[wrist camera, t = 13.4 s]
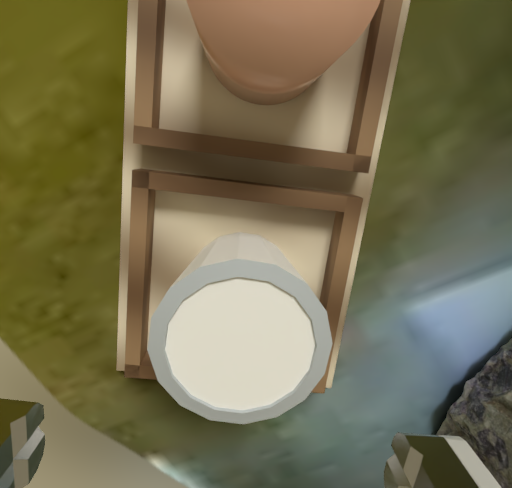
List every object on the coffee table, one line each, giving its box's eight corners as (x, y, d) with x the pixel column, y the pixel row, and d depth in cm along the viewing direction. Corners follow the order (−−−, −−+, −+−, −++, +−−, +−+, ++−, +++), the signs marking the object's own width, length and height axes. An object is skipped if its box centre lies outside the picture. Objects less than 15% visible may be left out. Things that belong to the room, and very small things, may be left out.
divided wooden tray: (139, -134, 16) (120, -187, 13) (419, -83, 17) (449, -123, 14) (122, 360, 22) (107, 386, 19) (327, 378, 23) (337, 405, 20)
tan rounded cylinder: (209, -47, 16) (185, -198, 9) (339, -25, 16) (411, -153, 9) (198, 96, 17) (170, 59, 10) (318, 113, 18) (366, 88, 11)
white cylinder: (212, 353, 21) (197, 451, 14) (157, 251, 19) (110, 306, 12) (319, 308, 20) (358, 387, 13) (273, 200, 19) (291, 228, 12)
